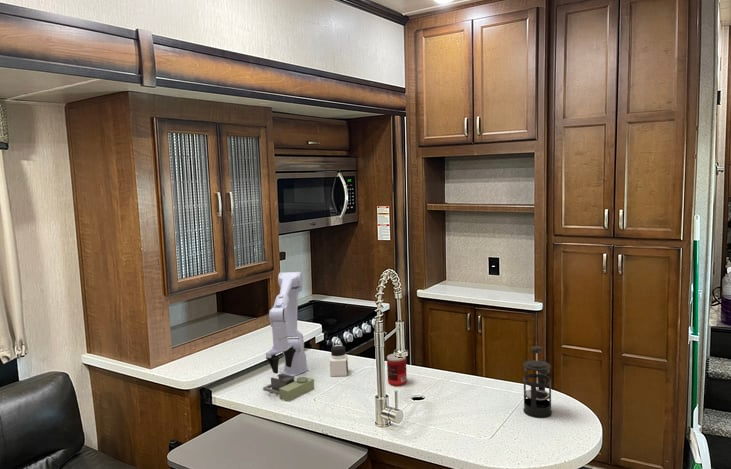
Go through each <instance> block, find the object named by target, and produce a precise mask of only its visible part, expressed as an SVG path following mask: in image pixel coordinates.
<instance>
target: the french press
mask: <svg viewBox="0 0 731 469" xmlns="http://www.w3.org/2000/svg"><path fill="white" fill-rule="evenodd" d="M530 350H532V351H535V358H536V360H532V359H531V360H526V361H524V362H523V364H522V365H523V367H524V372H525V373H526V372H529V371H531V370H532V371H536V373H528V374H526V375H524V376H523V413H524V414H525V415H527V416H528V417H531V418H537V419H545V418H549V417H551V416H552V414H553V411H552V379H551V377H550V376H548V374H550V369H551V368H552V366H551V364H550V363H549V362H547V361H543V360H538V354H539V351H543V350H544V348H543V347H541V346H538V345H536V346H531V347H530ZM531 378H536V382H530V381H528V379H531ZM546 381H547V382H546ZM527 386H528V387H530V389H527V388H526V387H527ZM546 387H547V388H549V389H548V391H549V392H548V391H547V390H546Z"/></svg>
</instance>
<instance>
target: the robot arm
mask: <svg viewBox="0 0 731 469" xmlns="http://www.w3.org/2000/svg"><path fill="white" fill-rule="evenodd" d="M303 278H304V277H303V273H302V272H301V271H293V272H292V271H291V272H288V271H287V272H281V271H280V272H279V274H278V276H277V282H278V286H279V287H280V290H279V294H278V295H276V296H275V297H276V298H275V300H274V304H273V306H272V307H271V309H269V313H268V314H269V315H268V318H269V322H270V327H271V329H272V347H271V349H269V350H268V351H267V352H265V355H266V356H265V359H266V360H267V361H268V363H269V365H270V367H271V370H272V373H273V374H279V361H280V357H278V356H277V355H278V354H280V353H282V355H283V361H284V363H283V364H284V370H283V371H280V374H283V375H287V376H291V377H294V378H295V377H297V376H298V375H301V374H303V373H306V372H307V371H309V369H308V364H307V363H308V361H307V354H306V352H305V351H304V348H305V341H304V334H303V333H302V332H300V331H299V330H298V308H299V307H298V303H299V302H298V300H299V299H298V298H299V293H300V292H302V291H303Z"/></svg>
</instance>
